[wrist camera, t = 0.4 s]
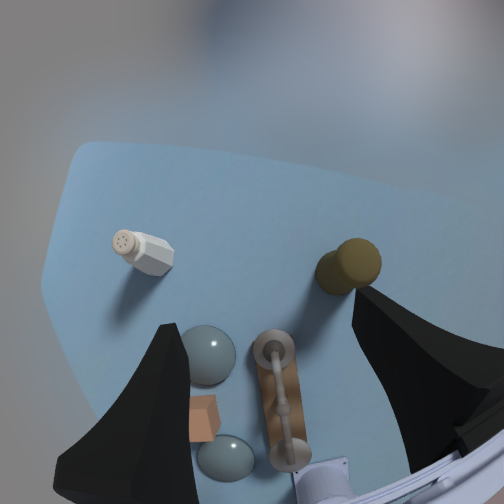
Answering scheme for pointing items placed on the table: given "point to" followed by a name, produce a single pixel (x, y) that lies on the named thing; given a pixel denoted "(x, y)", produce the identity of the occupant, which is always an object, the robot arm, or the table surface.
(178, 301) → the table surface
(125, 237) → the salt shaker
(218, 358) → the grey dome
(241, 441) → the smooth grey pebble
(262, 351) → the balance
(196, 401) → the block
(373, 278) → the cork
